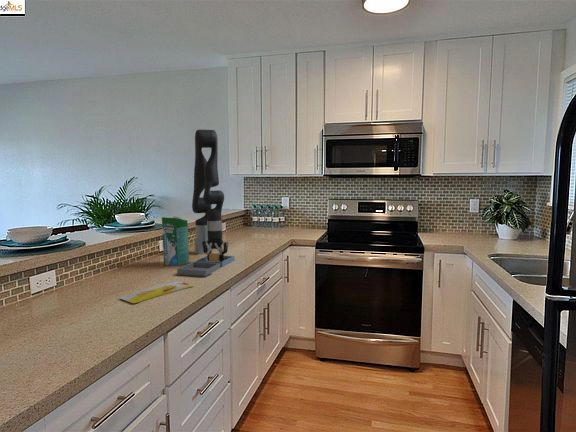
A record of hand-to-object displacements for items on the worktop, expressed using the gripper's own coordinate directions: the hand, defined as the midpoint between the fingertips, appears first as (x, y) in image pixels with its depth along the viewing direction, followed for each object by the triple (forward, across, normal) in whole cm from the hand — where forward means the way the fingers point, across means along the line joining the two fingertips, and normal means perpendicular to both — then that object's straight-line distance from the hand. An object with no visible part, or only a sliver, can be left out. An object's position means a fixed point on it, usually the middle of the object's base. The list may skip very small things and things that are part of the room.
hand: (215, 261), depth 193 cm
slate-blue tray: (+1, 0, 0) cm, 1 cm away
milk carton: (+2, -20, -5) cm, 21 cm away
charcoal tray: (+2, 0, -17) cm, 17 cm away
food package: (+2, 0, -49) cm, 49 cm away
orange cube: (+1, 0, 0) cm, 1 cm away
